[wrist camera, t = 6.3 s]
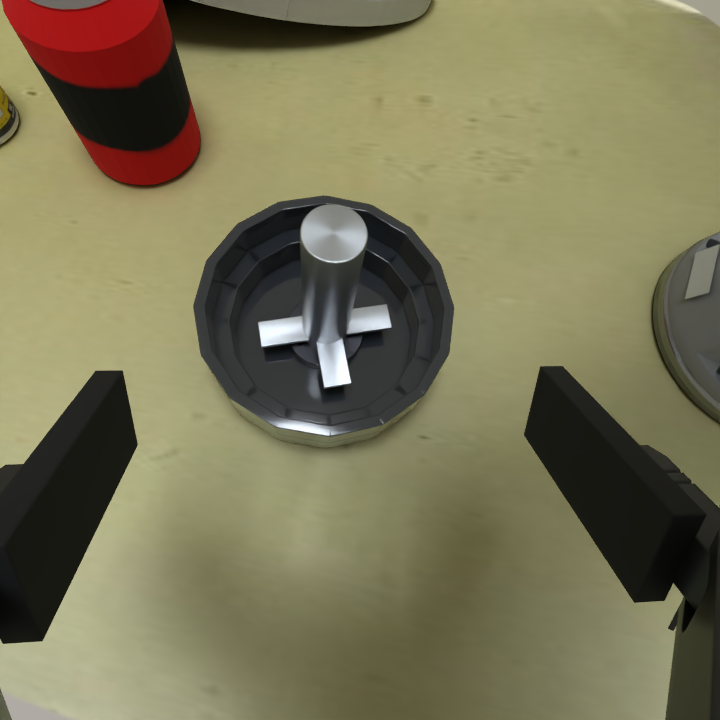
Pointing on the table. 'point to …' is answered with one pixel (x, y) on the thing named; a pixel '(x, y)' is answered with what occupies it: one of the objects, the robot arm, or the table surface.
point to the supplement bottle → (7, 117)
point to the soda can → (114, 81)
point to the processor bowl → (283, 293)
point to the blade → (328, 297)
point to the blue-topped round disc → (329, 10)
